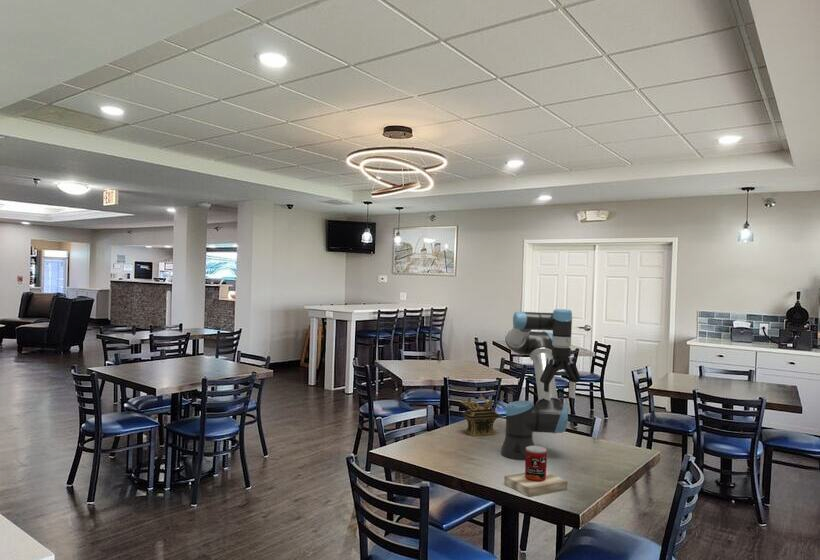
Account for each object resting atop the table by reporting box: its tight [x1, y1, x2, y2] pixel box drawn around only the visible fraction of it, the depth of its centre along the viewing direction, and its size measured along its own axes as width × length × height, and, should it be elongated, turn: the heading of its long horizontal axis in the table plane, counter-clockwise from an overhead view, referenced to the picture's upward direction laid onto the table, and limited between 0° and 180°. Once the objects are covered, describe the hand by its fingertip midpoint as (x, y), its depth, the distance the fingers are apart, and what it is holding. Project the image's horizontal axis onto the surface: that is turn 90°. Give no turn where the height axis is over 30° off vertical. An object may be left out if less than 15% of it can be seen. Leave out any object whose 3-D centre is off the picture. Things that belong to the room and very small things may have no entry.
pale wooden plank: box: [503, 471, 568, 498], centre depth 206 cm, size 14×18×3 cm
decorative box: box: [460, 393, 500, 437], centre depth 281 cm, size 20×10×20 cm, turn 111°
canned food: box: [524, 445, 548, 482], centre depth 206 cm, size 8×8×11 cm
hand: (559, 398), depth 228 cm, fingers open, 13 cm apart
